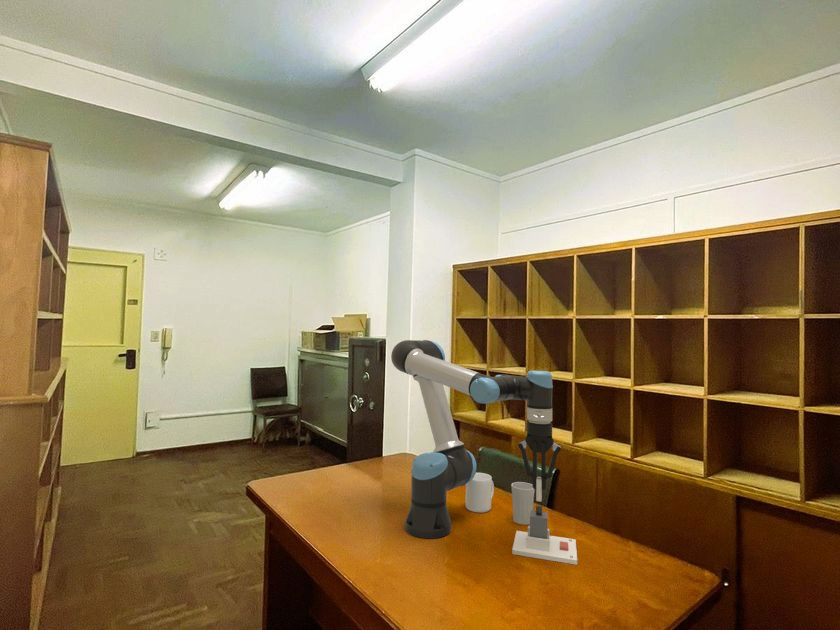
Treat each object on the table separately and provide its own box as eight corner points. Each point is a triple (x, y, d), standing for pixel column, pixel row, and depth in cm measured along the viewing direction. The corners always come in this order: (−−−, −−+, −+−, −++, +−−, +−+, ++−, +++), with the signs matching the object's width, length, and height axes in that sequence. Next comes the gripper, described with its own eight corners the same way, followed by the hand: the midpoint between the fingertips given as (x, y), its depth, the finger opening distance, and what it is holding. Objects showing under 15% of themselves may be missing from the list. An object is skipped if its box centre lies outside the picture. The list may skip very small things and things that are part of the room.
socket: (512, 554, 131) (512, 539, 131) (516, 534, 145) (516, 521, 145) (577, 564, 126) (577, 549, 126) (575, 543, 139) (575, 529, 139)
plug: (529, 550, 134) (530, 508, 134) (530, 543, 139) (531, 502, 139) (546, 553, 132) (547, 510, 133) (547, 545, 137) (547, 504, 138)
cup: (534, 526, 151) (535, 490, 152) (510, 524, 153) (511, 488, 153) (533, 517, 159) (534, 483, 159) (510, 515, 160) (511, 481, 161)
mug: (460, 508, 166) (460, 476, 167) (478, 500, 175) (479, 469, 175) (481, 515, 160) (482, 482, 160) (499, 506, 168) (500, 475, 169)
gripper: (516, 422, 136) (516, 501, 135) (561, 425, 132) (561, 506, 131) (518, 418, 143) (518, 493, 142) (561, 421, 139) (561, 498, 138)
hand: (539, 499), depth 136 cm, fingers closed
